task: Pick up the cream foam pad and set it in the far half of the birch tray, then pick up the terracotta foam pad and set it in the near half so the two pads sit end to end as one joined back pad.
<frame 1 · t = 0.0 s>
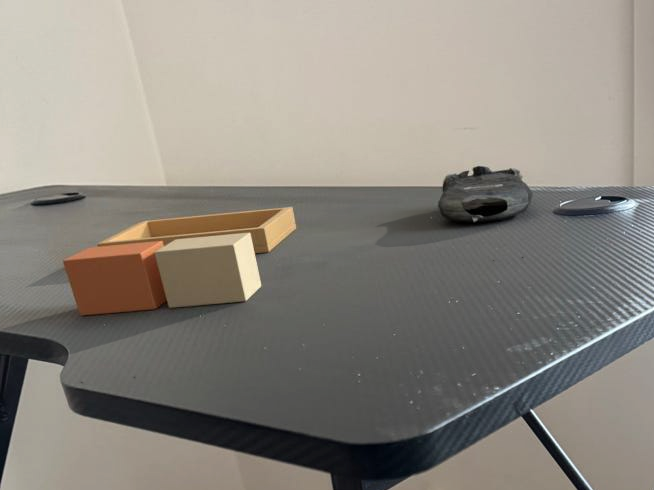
electronic device: (485, 214, 94), on the table
pad a: (216, 297, 72), on the table
tray: (204, 247, 92), on the table
pad b: (129, 304, 72), on the table
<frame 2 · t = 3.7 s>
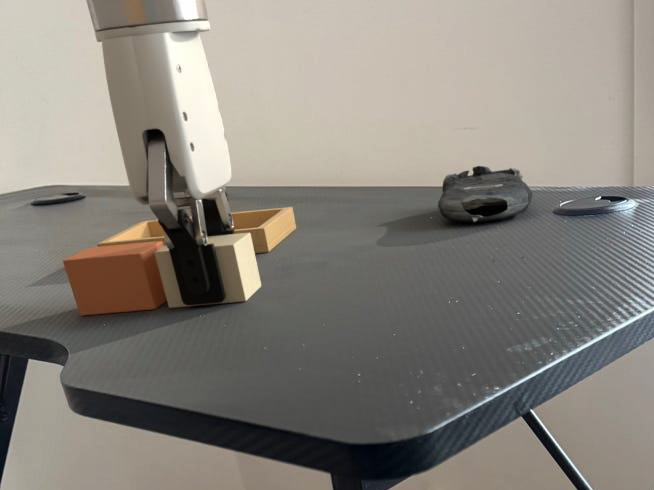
hand: (215, 291, 71), 0 cm above the table, tool pointing down, fingers closed on pad a, 5 cm apart
pad a: (216, 297, 72), on the table, touching gripper
everything else where it was.
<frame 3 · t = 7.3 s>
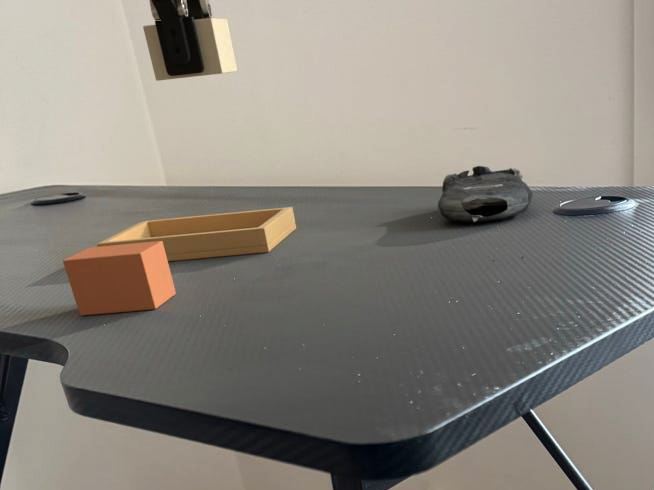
hand: (195, 70, 82), 15 cm above the table, tool pointing down, fingers closed on pad a, 5 cm apart
pad a: (197, 76, 82), point 14 cm above the table, touching gripper
everything else where it was.
when the fingers open (1 cm above the table, at t = 10.9 s): pad a stays where it is, resting on tray.
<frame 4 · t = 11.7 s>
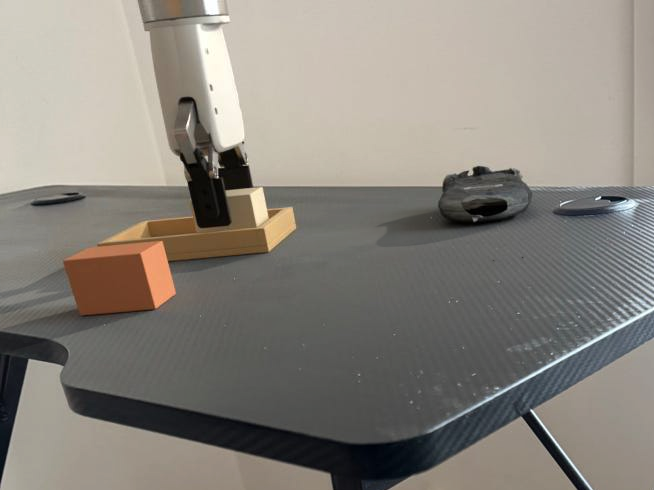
hand: (229, 218, 91), 2 cm above the table, tool pointing down, fingers open, 9 cm apart
pad a: (236, 237, 92), point 1 cm above the table, touching tray
everything else where it was.
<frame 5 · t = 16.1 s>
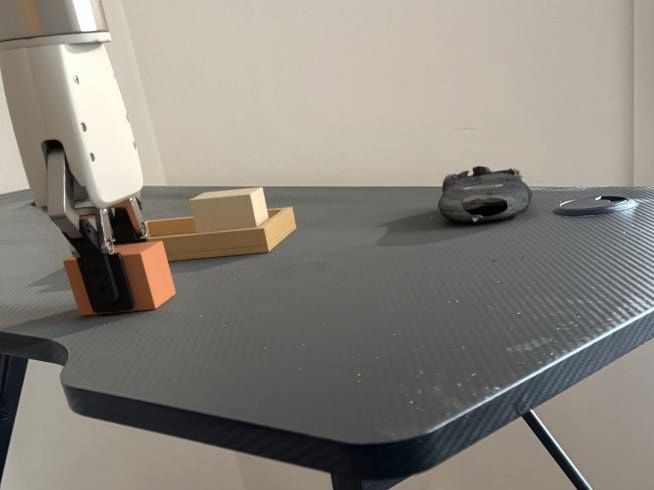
hand: (127, 299, 72), 0 cm above the table, tool pointing down, fingers closed on pad b, 5 cm apart
pad b: (129, 304, 72), on the table, touching gripper
everything else where it was.
when the fingers open (1 cm above the table, at t = 23.5 s): pad b stays where it is, resting on tray.
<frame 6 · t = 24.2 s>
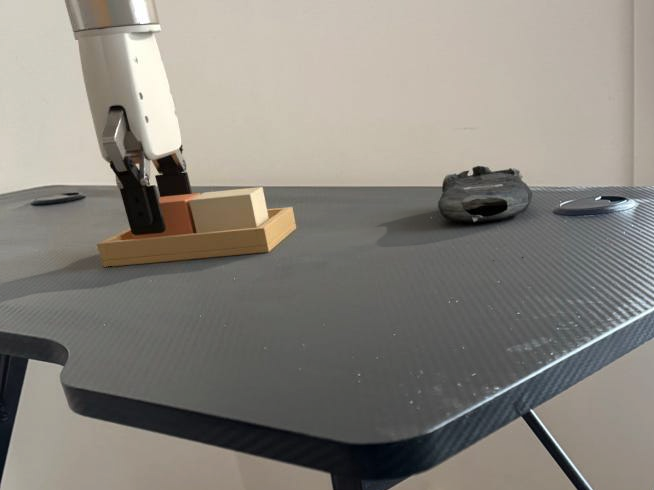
hand: (166, 224, 91), 2 cm above the table, tool pointing down, fingers open, 9 cm apart
pad b: (174, 243, 92), point 1 cm above the table, touching tray
everything else where it was.
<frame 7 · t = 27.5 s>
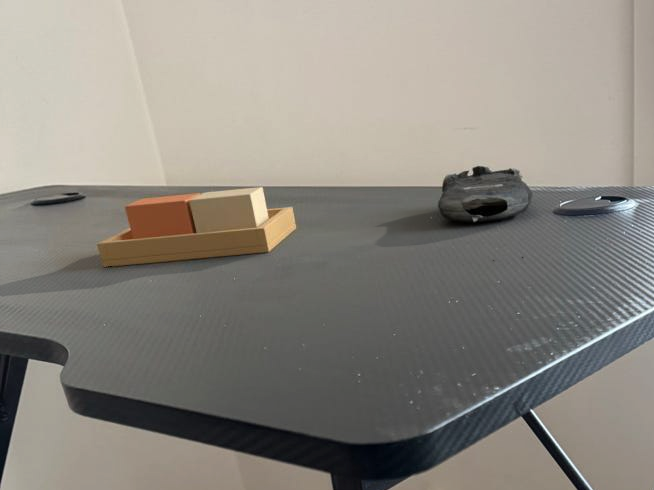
nothing on the table moved.
at the end: pad a inside the target area in the tray (3.3 cm from its centre), point 0.6 cm above the tray's base; pad b inside the target area in the tray (3.0 cm from its centre), point 0.6 cm above the tray's base; pad a 6.4 cm from the pad b (horizontally) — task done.
